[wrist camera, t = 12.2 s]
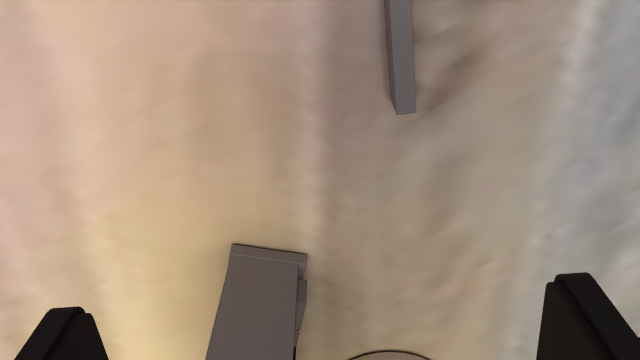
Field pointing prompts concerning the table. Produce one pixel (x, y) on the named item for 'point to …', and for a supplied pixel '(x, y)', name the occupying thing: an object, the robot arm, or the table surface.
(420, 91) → the table surface
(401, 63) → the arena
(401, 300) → the table surface
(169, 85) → the table surface
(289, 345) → the cassette tape recorder
